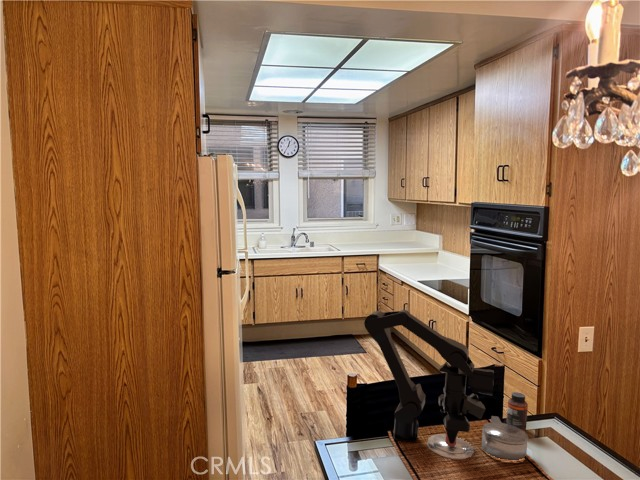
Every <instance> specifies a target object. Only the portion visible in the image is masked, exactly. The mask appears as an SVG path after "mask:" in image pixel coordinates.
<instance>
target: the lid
mask: <svg viewBox="0 0 640 480" xmlns="http://www.w3.org/2000/svg"><path fill="white" fill-rule="evenodd" d="M458 437H459V436H458V435H457V436H456V439H455V442H454V444H451V443H450V442H449V439H448V435H447V432H446V431H445V433H437V434H432V435H431V436H429V437H428V439H427V447H428V449H429V450H431V452H433V453H434V454H436V455H438V456H440V457H443V458H447V459H449V460H450V459H451V460H458V461H459V460H460V461H461V460H467V459H466V458H468V457H470V456H471V455H472V454H473V453H475V449H474V446H473V445H472V444H471V443H470V442H469V441H468V442H467V440H466V441H464V440H465V439H464V438H462V437H460V438H458ZM461 438H462V439H461ZM469 443H470V444H469ZM471 445H472V446H471ZM473 455H474V454H473ZM470 458H471V457H470ZM468 459H469V458H468Z"/></svg>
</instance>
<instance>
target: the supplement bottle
mask: <svg viewBox="0 0 640 480" xmlns="http://www.w3.org/2000/svg"><path fill="white" fill-rule="evenodd" d="M528 407H529V406H528V403H527V401H526V395H525V394H524V393H522V392H518V391H517V392H516V391H514V392H512V393H511V398H509V399H508V401H507V407H506V409H507V410H506V423H505V424H509V425H512V426H515V427H517V428H519V429H521V430H523V431H524V432H526V431H527V423H528V422H527V421H528Z"/></svg>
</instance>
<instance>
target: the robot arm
mask: <svg viewBox="0 0 640 480" xmlns="http://www.w3.org/2000/svg"><path fill="white" fill-rule="evenodd" d="M363 323H364V324H363V325H364V328H365V330H366V331H367V333H368V334H369V336H370V338H372V339H373V341H375V342H376V343H377V345H378V347H379V349H380V352H381V353H382V355H383V359H384V360H385V362H386V364H387V366H388V368H389V371H390V374H391V375H392V377H393V379H394V381H395V385H396V386H397V389H398V395H399V401H400V402H399V404H398V406H397V407H396V409H395V411H394V413H393V416H394V426H393V440H394V441H401V442H410V443H417V439H418V438H419V426H420V425H419V421H418V418H417V417H419V416H420V415H421V414H422V412H423V410H424V407H425V404H426V394H425V393H424V391H423V389H422V385H421V383H417V384H415V383H414V382H413V381H412V380H411V378H410V375H409V373H408V371H407V369H406V367H405V363H404V362H403V361H402V357H401V356H400V354H399V351H398V349H397V348H396V344H395V343H394V341H393V337H392V334H391V333H392V332H391V328H394V327H397V326H402V327H403V328H405V329H406V330H408V331H409V332H410V333H412V334H414V335H415V336H417V337H418V338H419V339H421V340H422V341H424V342H425V343H426V344H428V345H429V346H431V347H432V348H433V349H434V350H435V351H436V352H437V353H438V354H439V355H440V357H442V359H443V360H444V361H445V362H444V363H443V364H442V365H440V367H439V370H438V371H439V372H442V373H445V379H444V387H443V390H442V391H443V393H441V394H440V395H439V396H438V406H439V407H442V408H440V414H441V417H442V421H443V425H444V428H445V433H446V432H447V435H448V439H449V442H450V443H451V444H454V442H455V439H456V436H457V437H458V434H459V433H460V432H464V433H468V432H470V428H471V427H470V421H469V420H468V418H467V417H466V415H467V413H469V414H470V415H472V416H475V417H476V418H478V419H482V418H483V415H484V413H485V411H486V407H485V404H483V403H482V401H480V400H479V396H478V394H482V395H487V396H493V395H494V386H495V385H494V383H495V382H494V375H495V372H494V369H484V368H478V367H475V364H474V362H473V360H472V359H471V358H470V356H469V354H470V353H469V349H468V347H467V346H466V345H465V344H463V343H462V342H460V341H457V340H455V339H453V338H449V337H447V336H445V335H442V334H441V333H439V332H438V331H436V330H435V329H434V328H432V327H430V326H429V325H428V324H426V323H424V322H423V321H422V320H421V319H419V318H417V317H416V316H414V315H413V314H411V312H410V311H408V310H407V309H401V310H395V311H394V310H393V311H386V312H383V311H380V310H375V311H373V312H371V313H370V314H369V315H368V316H366V318H365V319H364V322H363ZM467 377H468V382H467ZM467 384H468V385H467ZM466 387H468V388H469V390H470V391H471V392H472V393H471V394H470V395H466Z"/></svg>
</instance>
